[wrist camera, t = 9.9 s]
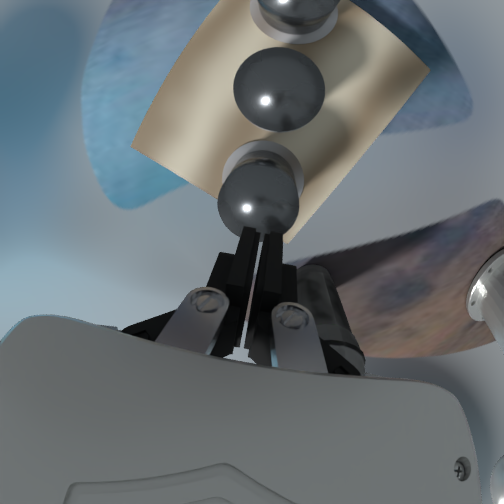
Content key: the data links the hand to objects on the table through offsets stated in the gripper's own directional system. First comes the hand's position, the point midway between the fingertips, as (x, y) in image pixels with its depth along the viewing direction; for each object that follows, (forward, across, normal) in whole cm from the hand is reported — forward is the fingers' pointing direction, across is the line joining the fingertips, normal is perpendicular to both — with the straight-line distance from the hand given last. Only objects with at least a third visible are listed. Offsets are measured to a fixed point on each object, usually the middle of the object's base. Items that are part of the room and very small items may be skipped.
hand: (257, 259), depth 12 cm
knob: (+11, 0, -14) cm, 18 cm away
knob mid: (+11, +1, -7) cm, 13 cm away
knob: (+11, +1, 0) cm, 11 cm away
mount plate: (+14, +1, -7) cm, 16 cm away
